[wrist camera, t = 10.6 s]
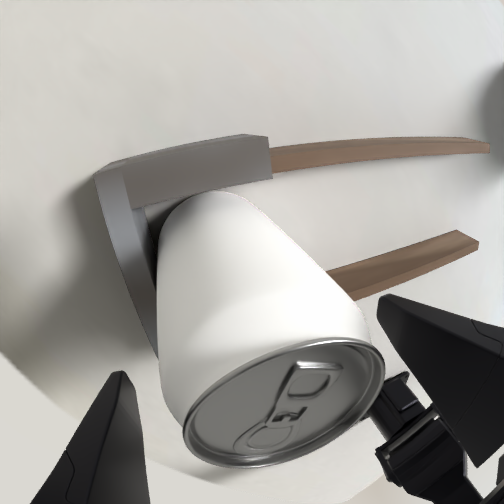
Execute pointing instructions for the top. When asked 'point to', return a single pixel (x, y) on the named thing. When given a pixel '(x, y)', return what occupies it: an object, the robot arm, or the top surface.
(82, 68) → the top surface
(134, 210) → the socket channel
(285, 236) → the can
